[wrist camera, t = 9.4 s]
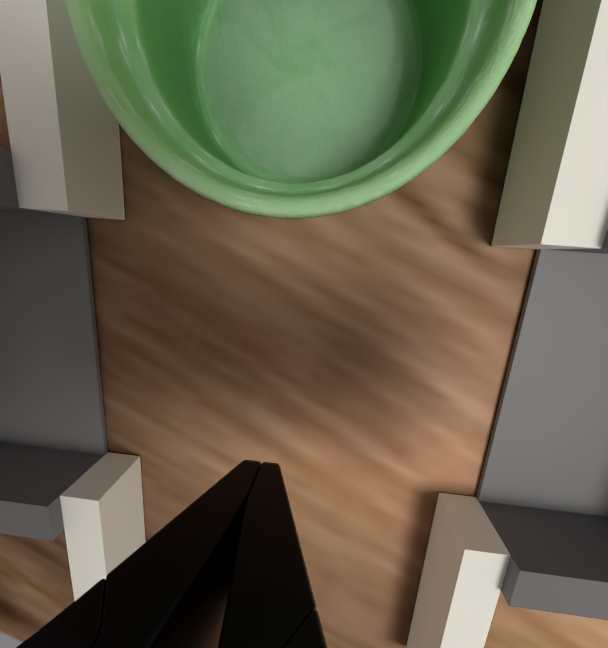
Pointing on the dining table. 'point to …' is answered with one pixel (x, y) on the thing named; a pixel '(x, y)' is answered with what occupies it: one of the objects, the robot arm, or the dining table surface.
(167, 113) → the ramekin
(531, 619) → the dining table surface
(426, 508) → the dining table surface
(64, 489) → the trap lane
